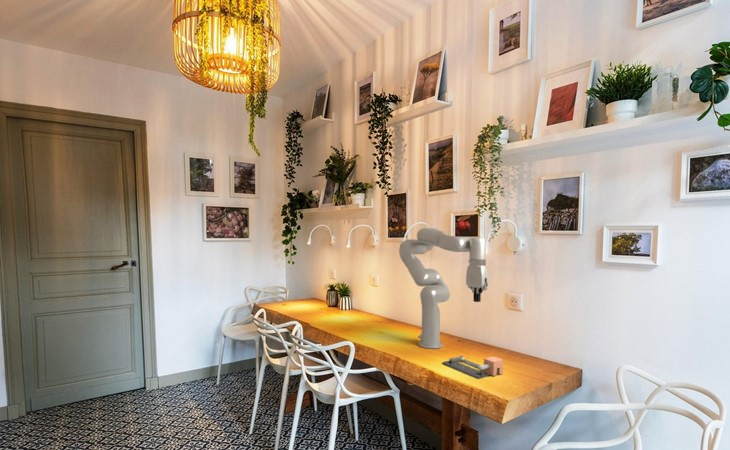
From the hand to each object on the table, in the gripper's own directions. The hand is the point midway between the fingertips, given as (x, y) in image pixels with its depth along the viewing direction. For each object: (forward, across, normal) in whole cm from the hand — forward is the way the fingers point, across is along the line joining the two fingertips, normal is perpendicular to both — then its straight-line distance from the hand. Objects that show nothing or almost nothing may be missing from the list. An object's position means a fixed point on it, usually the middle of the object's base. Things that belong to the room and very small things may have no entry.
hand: (477, 301), depth 181 cm
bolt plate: (+27, +8, -16) cm, 33 cm away
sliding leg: (+27, +17, -12) cm, 34 cm away
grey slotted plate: (+27, +8, -13) cm, 31 cm away
